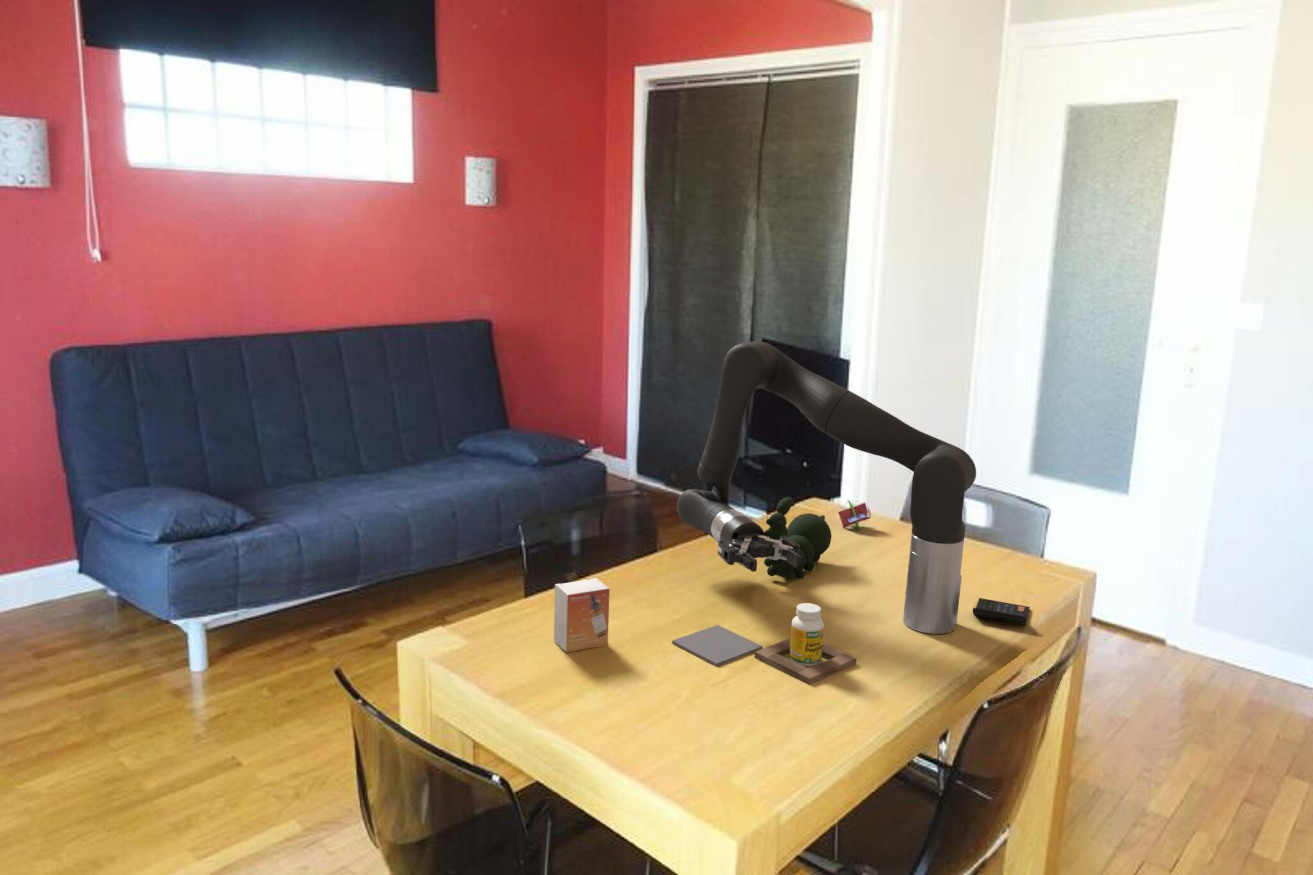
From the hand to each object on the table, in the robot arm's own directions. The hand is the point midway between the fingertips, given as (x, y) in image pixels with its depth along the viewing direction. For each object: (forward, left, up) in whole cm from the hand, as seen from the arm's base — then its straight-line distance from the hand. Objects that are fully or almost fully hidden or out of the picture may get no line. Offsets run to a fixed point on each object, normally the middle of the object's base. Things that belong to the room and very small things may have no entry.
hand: (777, 564), depth 174 cm
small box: (+30, -17, -13) cm, 37 cm away
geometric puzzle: (-60, -29, -13) cm, 68 cm away
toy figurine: (-27, -18, -13) cm, 35 cm away
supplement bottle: (+4, +11, -13) cm, 18 cm away
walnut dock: (+4, +11, -13) cm, 17 cm away
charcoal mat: (+12, -2, -13) cm, 18 cm away
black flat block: (-41, +21, -14) cm, 48 cm away
